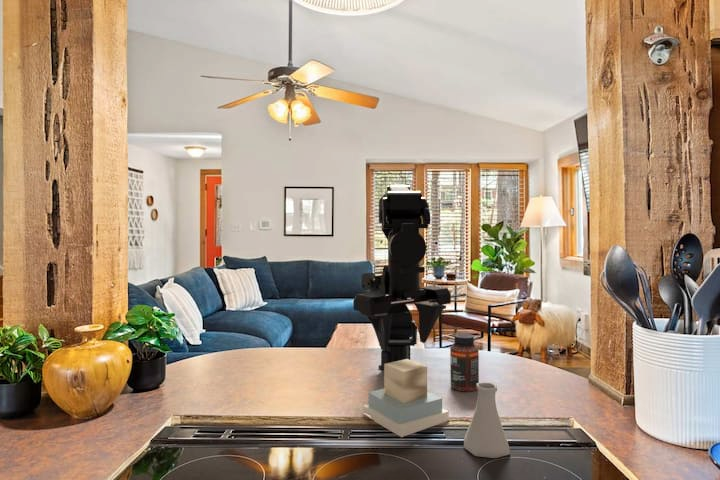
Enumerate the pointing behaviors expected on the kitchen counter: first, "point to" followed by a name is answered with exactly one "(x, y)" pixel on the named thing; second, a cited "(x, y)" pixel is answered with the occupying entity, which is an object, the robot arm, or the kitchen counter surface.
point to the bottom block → (409, 426)
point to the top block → (404, 406)
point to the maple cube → (405, 380)
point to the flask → (486, 426)
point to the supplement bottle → (464, 363)
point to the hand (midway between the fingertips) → (404, 346)
